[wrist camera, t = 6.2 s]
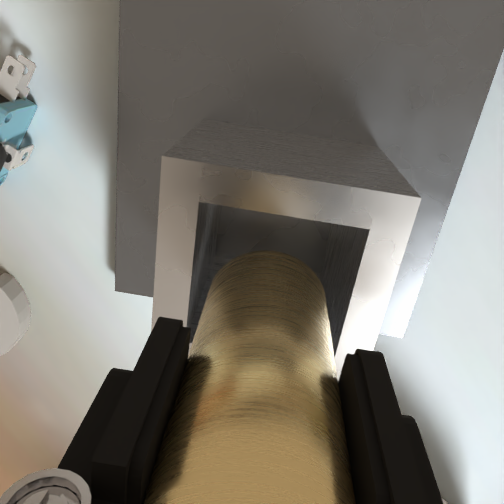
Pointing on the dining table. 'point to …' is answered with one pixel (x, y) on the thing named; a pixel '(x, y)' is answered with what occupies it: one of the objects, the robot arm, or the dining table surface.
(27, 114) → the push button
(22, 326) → the adjustable wrench
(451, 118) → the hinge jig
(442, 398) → the dining table surface
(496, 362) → the dining table surface
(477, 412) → the dining table surface
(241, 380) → the brass pin
